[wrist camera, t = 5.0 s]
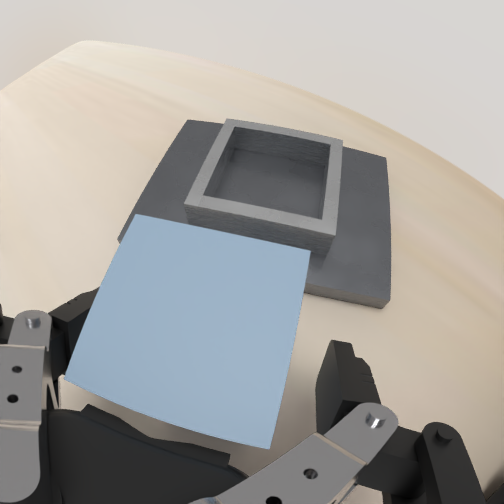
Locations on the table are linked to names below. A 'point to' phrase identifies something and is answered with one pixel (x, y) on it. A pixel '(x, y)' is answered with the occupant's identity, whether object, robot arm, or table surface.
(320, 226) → the grey metal socket plate
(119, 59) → the table surface
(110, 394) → the peg
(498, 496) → the muzzle brake
